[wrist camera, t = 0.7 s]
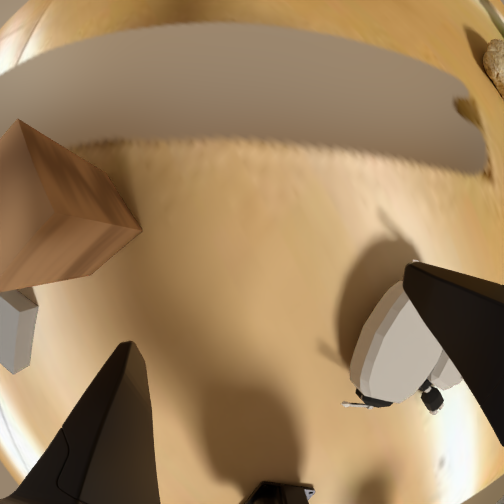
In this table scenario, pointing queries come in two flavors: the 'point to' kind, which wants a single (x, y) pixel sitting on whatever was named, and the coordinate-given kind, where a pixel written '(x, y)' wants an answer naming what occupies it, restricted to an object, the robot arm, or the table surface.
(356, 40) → the table surface
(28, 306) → the base slab
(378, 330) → the robot toy
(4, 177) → the walnut block
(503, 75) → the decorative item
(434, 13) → the table surface
